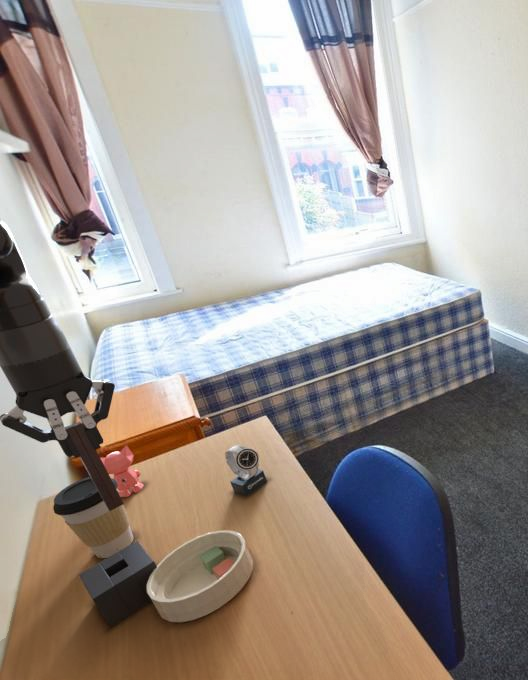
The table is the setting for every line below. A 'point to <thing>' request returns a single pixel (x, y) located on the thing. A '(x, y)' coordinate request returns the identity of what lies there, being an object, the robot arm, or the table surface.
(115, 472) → the cat figurine
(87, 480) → the coffee cup
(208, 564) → the sage block
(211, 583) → the bowl
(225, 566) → the terracotta block
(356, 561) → the table surface
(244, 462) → the watch
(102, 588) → the stand
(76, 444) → the chopsticks
